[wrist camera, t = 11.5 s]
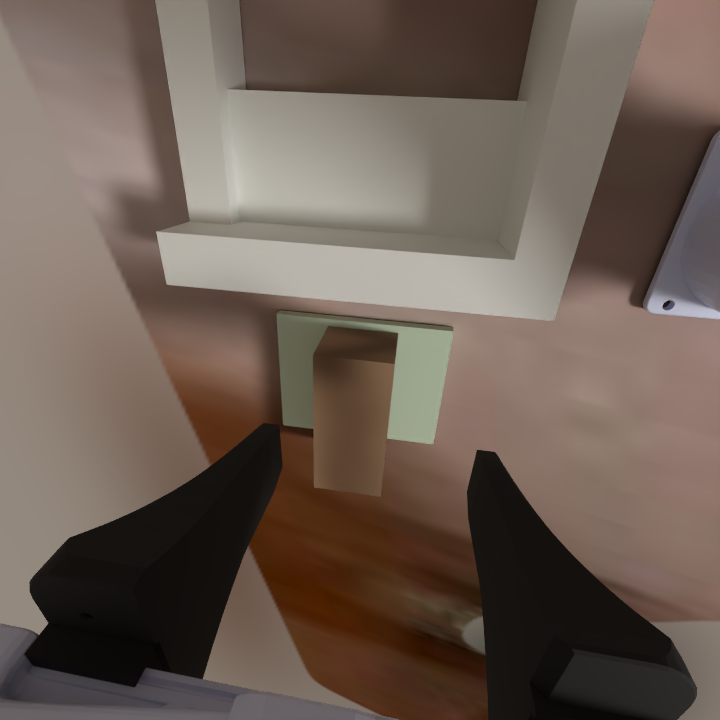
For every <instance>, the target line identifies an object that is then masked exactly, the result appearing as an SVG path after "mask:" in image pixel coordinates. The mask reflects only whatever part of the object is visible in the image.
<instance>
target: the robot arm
mask: <svg viewBox="0 0 720 720" xmlns="http://www.w3.org/2000/svg"><path fill="white" fill-rule="evenodd" d="M669 300H670V304H669V305H668V306H666V307H663V304H664V303H665V302H666V301H669ZM643 307H644V309H645V310H646V311H648V312H649V313H653V314H663V315H675V316H686V317H697V318H708V319H719V320H720V130H719V131H718V132H717V133H716V134H715V135H714V137H713V138H712V140H711V142H710V144H709V147H708V149H707V152H706V154H705V156H704V159H703V161H702V163H701V166H700V168H699V171H698V173H697V175H696V178H695V180H694V182H693V185H692V187H691V189H690V192H689V194H688V197H687V199H686V201H685V204H684V206H683V208H682V211H681V213H680V216H679V218H678V220H677V223H676V225H675V227H674V230H673V232H672V235H671V237H670V239H669V242H668V244H667V246H666V249H665V251H664V253H663V256H662V258H661V261H660V263H659V265H658V268H657V270H656V272H655V275H654V277H653V280H652V282H651V284H650V287H649V289H648V291H647V294H646V296H645V299H644V301H643ZM662 307H663V308H662ZM281 469H282V454H281V442H280V429H279V425H274V424H266V423H263V424H262V425H261V426H259V427H258V428H257V429H256V430H254V431H253V432H252V433H251V434H250V435H249V436H247V437H246V438H245V439H244V440H243V441H242V442H240V443H239V444H238V445H237V446H236V447H234V448H233V449H232V450H231V451H229V452H228V453H227V454H226V455H224V456H223V457H222V458H221V459H219V460H218V461H217V462H215V463H214V464H213V465H211V466H210V467H209V468H207V469H206V470H205V471H203V472H202V473H201V474H199V475H198V476H196V477H195V478H193V479H192V480H190V481H189V482H187V483H185V484H184V485H182V486H181V487H179V488H177V489H176V490H174V491H172V492H170V493H169V494H167V495H165V496H163V497H161V498H159V499H158V500H156V501H154V502H152V503H150V504H148V505H146V506H144V507H142V508H140V509H138V510H136V511H134V512H132V513H130V514H128V515H125V516H123V517H121V518H119V519H116V520H114V521H112V522H109V523H107V524H104V525H102V526H99V527H97V528H94V529H91V530H89V531H87V532H84V533H81V534H78V535H76V536H73V537H70V538H69V539H68V540H67V541H66V542H65V543H64V544H63V545H62V546H61V547H60V548H59V549H58V550H57V551H56V552H55V553H54V555H53V556H52V557H51V558H50V559H49V560H48V561H47V562H46V563H45V564H44V565H43V567H42V568H41V569H40V570H39V571H38V572H37V573H36V574H35V575H34V576H33V578H32V579H31V581H30V593H31V595H32V598H33V600H34V601H35V603H36V604H37V606H38V607H39V609H40V610H41V612H42V613H43V615H44V617H45V618H46V620H47V621H48V625H47V626H46V627H45V629H44V630H43V631H42V632H41V633H40V635H38V634H37V633H35V632H33V631H31V630H28V629H25V628H20V627H15V626H10V625H5V624H0V720H399V719H394V718H389V717H385V716H380V715H374V714H370V713H365V712H362V711H359V710H355V709H350V708H345V707H340V706H335V705H331V704H326V703H321V702H316V701H311V700H306V699H301V698H296V697H292V696H287V695H282V694H277V693H272V692H264V691H257V690H252V689H247V688H242V687H238V686H233V685H228V684H223V683H218V682H213V681H208V680H203V676H204V673H205V670H206V666H207V662H208V660H209V656H210V653H211V649H212V646H213V643H214V640H215V637H216V634H217V631H218V628H219V624H220V622H221V618H222V615H223V612H224V609H225V606H226V604H227V601H228V598H229V595H230V592H231V589H232V586H233V583H234V581H235V578H236V575H237V572H238V570H239V567H240V564H241V561H242V559H243V556H244V554H245V552H246V549H247V547H248V545H249V543H250V541H251V539H252V537H253V534H254V532H255V530H256V528H257V526H258V524H259V522H260V520H261V518H262V516H263V514H264V512H265V510H266V507H267V505H268V503H269V501H270V499H271V497H272V495H273V493H274V490H275V487H276V484H277V482H278V479H279V475H280V472H281ZM467 501H468V519H469V525H470V531H471V537H472V543H473V549H474V554H475V560H476V566H477V571H478V577H479V583H480V590H481V598H482V611H483V623H484V637H485V653H486V671H487V691H488V715H489V720H677V719H678V718H679V717H680V716H681V715H682V714H683V713H684V712H685V711H686V710H687V709H688V708H689V707H690V706H691V705H692V703H693V702H694V700H695V699H696V696H697V687H696V685H695V683H694V681H693V679H692V677H691V675H690V673H689V671H688V669H687V667H686V665H685V663H684V661H683V659H682V657H681V656H680V654H679V653H678V651H677V649H676V647H675V646H674V644H673V642H672V640H671V639H670V638H669V637H668V636H666V635H665V634H664V633H662V632H661V631H660V630H659V629H657V628H656V627H655V626H653V625H652V624H651V623H649V622H648V621H647V620H646V619H644V618H643V617H642V616H640V615H639V614H638V613H636V612H635V611H634V610H633V609H631V608H630V607H629V606H628V605H627V604H625V603H624V602H623V601H622V600H621V599H619V598H618V597H617V596H616V595H615V594H614V593H612V592H611V591H610V590H609V589H608V588H607V587H606V586H604V585H603V584H602V583H601V582H600V581H599V580H598V579H597V578H596V577H595V576H594V575H593V574H592V573H590V572H589V571H588V570H587V569H586V568H585V567H584V566H583V565H582V564H581V563H580V562H579V561H578V560H577V559H576V558H575V557H574V556H573V555H572V554H571V553H570V552H569V551H568V550H567V549H566V548H565V546H564V545H563V544H562V543H561V542H560V541H559V540H558V539H557V538H556V536H555V535H554V534H553V533H552V532H551V531H550V529H549V528H548V527H547V526H546V525H545V523H544V522H543V521H542V519H541V518H540V517H539V516H538V514H537V513H536V512H535V511H534V509H533V508H532V506H531V505H530V504H529V502H528V501H527V500H526V498H525V497H524V495H523V494H522V493H521V491H520V490H519V488H518V487H517V485H516V484H515V482H514V481H513V479H512V478H511V476H510V475H509V473H508V471H507V470H506V468H505V467H504V465H503V463H502V462H501V460H500V459H499V457H498V455H497V454H496V453H495V452H490V451H482V450H477V452H476V457H475V461H474V465H473V469H472V473H471V477H470V482H469V486H468V490H467Z"/></svg>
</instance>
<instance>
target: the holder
mask: <svg viewBox="0 0 720 720" xmlns="http://www.w3.org/2000/svg"><path fill="white" fill-rule="evenodd" d="M155 2H156V8H157V15H158V21H159V27H160V34H161V40H162V47H163V53H164V59H165V66H166V72H167V78H168V85H169V91H170V98H171V104H172V110H173V117H174V123H175V129H176V136H177V142H178V149H179V155H180V161H181V168H182V174H183V181H184V187H185V193H186V200H187V206H188V212H189V219H190V222H186V223H183V224H180V225H176V226H173V227H170V228H166V229H163V230H160V231H156V233H157V239H158V244H159V249H160V254H161V259H162V264H163V269H164V274H165V279H166V284H167V285H175V286H186V287H197V288H207V289H218V290H229V291H239V292H250V293H261V294H271V295H282V296H293V297H303V298H314V299H325V300H335V301H346V302H357V303H367V304H378V305H388V306H399V307H410V308H420V309H431V310H442V311H452V312H463V313H474V314H484V315H495V316H506V317H516V318H527V319H538V320H548V321H554V319H555V316H556V313H557V310H558V307H559V303H560V300H561V297H562V294H563V291H564V287H565V284H566V281H567V278H568V275H569V271H570V268H571V265H572V262H573V259H574V255H575V252H576V249H577V246H578V243H579V239H580V236H581V233H582V230H583V227H584V223H585V220H586V217H587V214H588V211H589V207H590V204H591V201H592V198H593V195H594V191H595V188H596V185H597V182H598V179H599V175H600V172H601V169H602V166H603V163H604V159H605V156H606V153H607V150H608V147H609V143H610V140H611V137H612V134H613V131H614V127H615V124H616V121H617V118H618V115H619V111H620V108H621V105H622V102H623V99H624V95H625V92H626V89H627V86H628V83H629V80H630V76H631V73H632V70H633V67H634V64H635V60H636V57H637V54H638V51H639V48H640V44H641V41H642V38H643V35H644V32H645V28H646V25H647V22H648V19H649V16H650V12H651V9H652V6H653V3H654V0H538V1H537V6H536V11H535V15H534V20H533V25H532V30H531V35H530V40H529V45H528V50H527V55H526V60H525V65H524V70H523V75H522V80H521V84H520V89H519V94H518V99H517V101H508V100H483V99H458V98H434V97H409V96H384V95H359V94H334V93H309V92H285V91H260V90H246V80H245V67H244V54H243V41H242V28H241V16H240V3H239V0H155Z"/></svg>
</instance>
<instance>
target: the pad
mask: <svg viewBox="0 0 720 720" xmlns="http://www.w3.org/2000/svg"><path fill="white" fill-rule="evenodd" d="M276 316H277V332H278V349H279V365H280V382H281V398H282V415H283V425H286V426H294V427H302V428H310V429H314V427H313V354H314V352H315V350H316V348H317V346H318V344H319V342H320V341H321V339H322V337H323V335H324V333H325V331H326V329H327V327H328V326H333V327H343V328H353V329H362V330H372V331H382V332H391V333H398V342H397V351H396V360H395V369H394V379H393V388H392V397H391V406H390V415H389V425H388V434H387V438H388V439H396V440H403V441H411V442H419V443H427V444H433V443H434V437H435V432H436V426H437V421H438V415H439V409H440V404H441V398H442V393H443V387H444V382H445V376H446V370H447V365H448V359H449V354H450V348H451V343H452V337H453V332H454V331H453V327H446V326H436V325H426V324H416V323H405V322H395V321H385V320H375V319H365V318H354V317H344V316H334V315H324V314H313V313H303V312H293V311H283V310H279V312H278V313H277V314H276Z"/></svg>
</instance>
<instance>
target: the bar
mask: <svg viewBox="0 0 720 720" xmlns="http://www.w3.org/2000/svg"><path fill="white" fill-rule="evenodd" d="M397 342H398V333H391V332H382V331H372V330H362V329H353V328H343V327H333V326H328V327H327V329H326V331H325V333H324V335H323V337H322V339H321V341H320V342H319V344H318V346H317V348H316V350H315V352H314V354H313V427H314V487H316V488H323V489H330V490H337V491H344V492H351V493H358V494H364V495H371V496H378V497H380V495H381V487H382V478H383V470H384V461H385V452H386V443H387V434H388V425H389V415H390V406H391V397H392V388H393V379H394V369H395V360H396V351H397Z"/></svg>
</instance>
